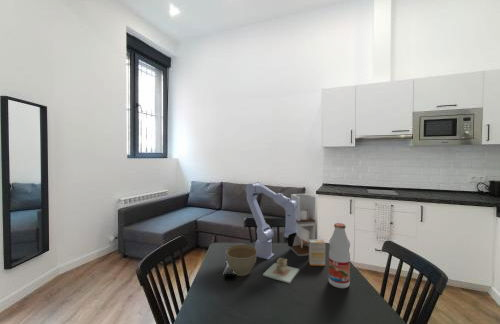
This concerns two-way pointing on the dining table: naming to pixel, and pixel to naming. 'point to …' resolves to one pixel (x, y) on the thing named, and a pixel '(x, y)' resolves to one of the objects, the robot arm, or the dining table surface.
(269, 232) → the robot arm
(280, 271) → the maple block
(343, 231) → the fruit juice
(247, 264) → the planter bowl
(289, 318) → the dining table surface
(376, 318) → the dining table surface
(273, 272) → the sage board
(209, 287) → the dining table surface
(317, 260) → the supplement box
